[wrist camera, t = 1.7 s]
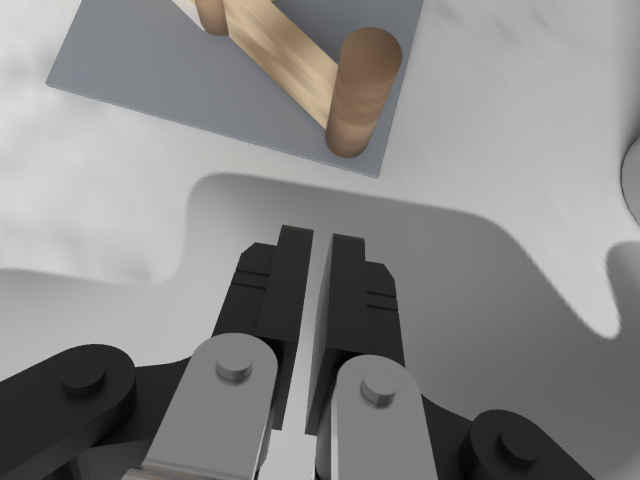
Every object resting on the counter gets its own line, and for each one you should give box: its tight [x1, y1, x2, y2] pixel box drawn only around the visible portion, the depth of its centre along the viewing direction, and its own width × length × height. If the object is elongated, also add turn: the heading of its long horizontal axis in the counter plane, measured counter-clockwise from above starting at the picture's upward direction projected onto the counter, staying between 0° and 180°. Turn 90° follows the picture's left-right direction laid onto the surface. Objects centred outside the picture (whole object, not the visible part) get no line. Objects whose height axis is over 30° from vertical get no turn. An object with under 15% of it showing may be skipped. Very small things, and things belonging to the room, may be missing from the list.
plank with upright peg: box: [223, 0, 402, 158], centre depth 26 cm, size 12×3×9 cm, turn 45°
